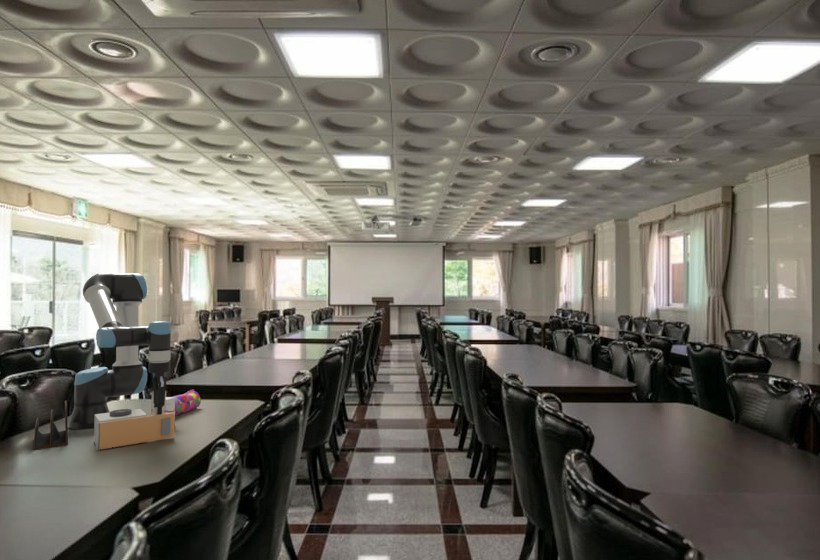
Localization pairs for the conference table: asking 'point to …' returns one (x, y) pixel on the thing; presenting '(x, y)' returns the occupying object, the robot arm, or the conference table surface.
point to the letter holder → (51, 434)
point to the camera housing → (117, 417)
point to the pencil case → (186, 402)
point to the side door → (134, 430)
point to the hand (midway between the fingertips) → (158, 423)
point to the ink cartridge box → (165, 406)
